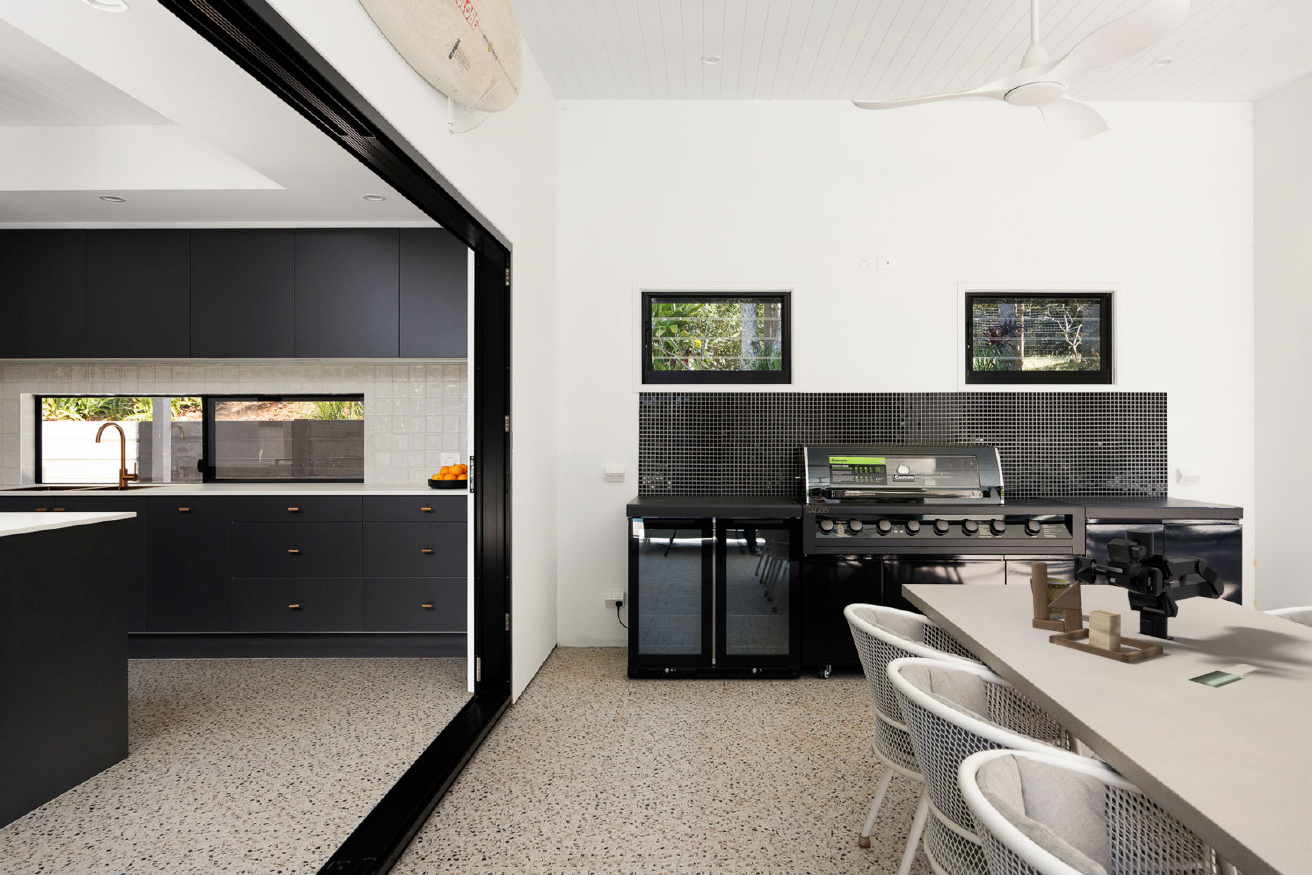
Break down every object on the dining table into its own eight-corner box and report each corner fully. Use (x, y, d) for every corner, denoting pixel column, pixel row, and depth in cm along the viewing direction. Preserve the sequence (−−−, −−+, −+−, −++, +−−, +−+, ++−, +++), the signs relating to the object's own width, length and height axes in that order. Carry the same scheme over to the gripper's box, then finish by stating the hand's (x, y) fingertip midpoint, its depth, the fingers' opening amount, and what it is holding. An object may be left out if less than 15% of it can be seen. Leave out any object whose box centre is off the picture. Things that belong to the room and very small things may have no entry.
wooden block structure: (1081, 639, 170) (1077, 565, 170) (1032, 633, 177) (1028, 562, 177) (1083, 635, 173) (1079, 563, 173) (1035, 630, 179) (1031, 560, 180)
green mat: (1180, 662, 154) (1180, 661, 154) (1240, 678, 144) (1240, 676, 144) (1153, 670, 148) (1153, 668, 148) (1214, 686, 139) (1214, 684, 139)
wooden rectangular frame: (1086, 640, 171) (1086, 627, 171) (1163, 659, 156) (1163, 646, 156) (1049, 648, 164) (1049, 635, 164) (1125, 669, 149) (1126, 655, 149)
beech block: (1100, 643, 163) (1100, 609, 163) (1120, 648, 159) (1120, 614, 159) (1089, 646, 161) (1089, 611, 161) (1109, 651, 157) (1109, 616, 157)
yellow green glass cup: (1078, 620, 190) (1078, 583, 190) (1041, 619, 190) (1041, 583, 190) (1051, 608, 203) (1051, 574, 203) (1017, 608, 203) (1017, 574, 203)
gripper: (1093, 535, 177) (1057, 538, 170) (1176, 545, 161) (1140, 549, 153) (1092, 578, 177) (1056, 583, 170) (1175, 593, 161) (1139, 599, 153)
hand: (1095, 577), depth 161 cm, fingers open, 8 cm apart
